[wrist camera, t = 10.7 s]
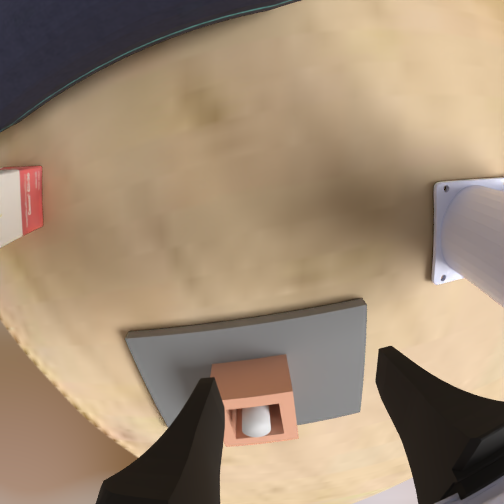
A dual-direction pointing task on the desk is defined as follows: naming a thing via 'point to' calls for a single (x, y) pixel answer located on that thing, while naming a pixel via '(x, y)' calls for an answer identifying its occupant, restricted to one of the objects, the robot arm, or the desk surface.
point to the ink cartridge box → (20, 202)
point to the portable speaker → (90, 40)
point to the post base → (259, 346)
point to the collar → (256, 397)
